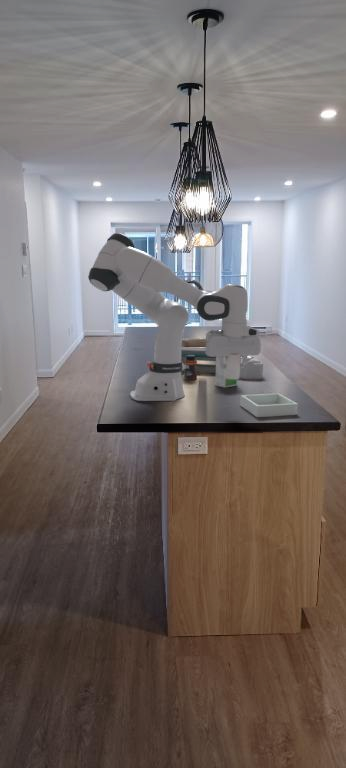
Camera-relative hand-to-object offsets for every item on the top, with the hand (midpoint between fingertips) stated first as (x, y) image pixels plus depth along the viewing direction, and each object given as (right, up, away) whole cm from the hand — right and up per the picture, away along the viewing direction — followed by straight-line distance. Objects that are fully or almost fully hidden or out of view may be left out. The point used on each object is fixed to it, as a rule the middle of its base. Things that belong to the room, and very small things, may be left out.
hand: (232, 367), depth 193 cm
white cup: (0, -4, +1) cm, 4 cm away
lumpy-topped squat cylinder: (+15, -2, +64) cm, 66 cm away
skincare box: (+2, -7, +46) cm, 46 cm away
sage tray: (+14, -16, +7) cm, 22 cm away
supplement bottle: (-13, -4, +58) cm, 59 cm away
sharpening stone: (-6, +1, +77) cm, 77 cm away
